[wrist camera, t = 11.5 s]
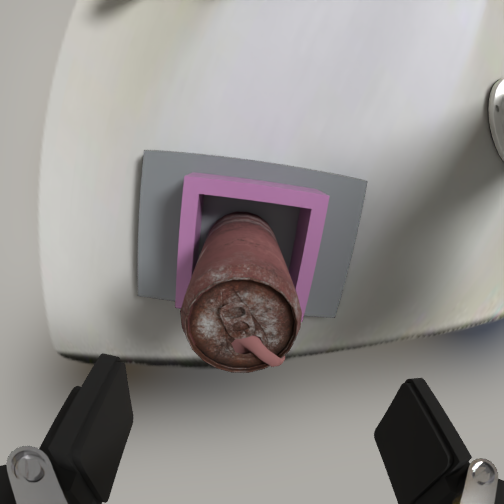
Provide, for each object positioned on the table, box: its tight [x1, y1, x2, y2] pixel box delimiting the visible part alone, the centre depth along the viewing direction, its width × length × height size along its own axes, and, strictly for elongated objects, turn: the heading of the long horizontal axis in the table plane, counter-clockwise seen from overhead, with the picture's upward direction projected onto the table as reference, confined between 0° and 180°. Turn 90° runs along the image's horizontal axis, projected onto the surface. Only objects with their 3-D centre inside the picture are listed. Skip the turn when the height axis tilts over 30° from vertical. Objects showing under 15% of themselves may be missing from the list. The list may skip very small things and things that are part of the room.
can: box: [180, 212, 302, 373], centre depth 21 cm, size 6×6×14 cm
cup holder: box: [138, 150, 367, 322], centre depth 26 cm, size 20×14×6 cm
